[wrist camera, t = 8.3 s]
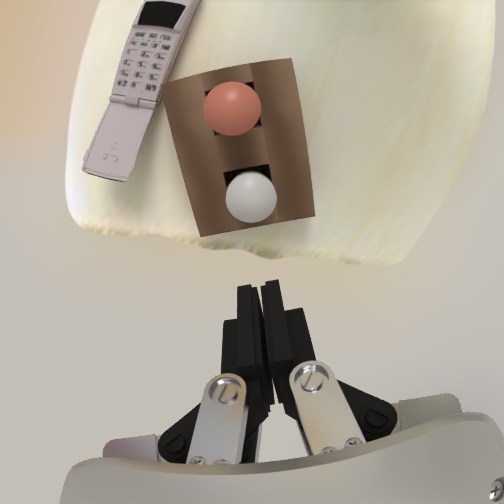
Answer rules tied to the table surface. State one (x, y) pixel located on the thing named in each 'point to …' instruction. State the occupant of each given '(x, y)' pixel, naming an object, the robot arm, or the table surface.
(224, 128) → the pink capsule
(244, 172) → the white light bulb
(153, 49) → the mobile phone
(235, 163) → the block
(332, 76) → the table surface
